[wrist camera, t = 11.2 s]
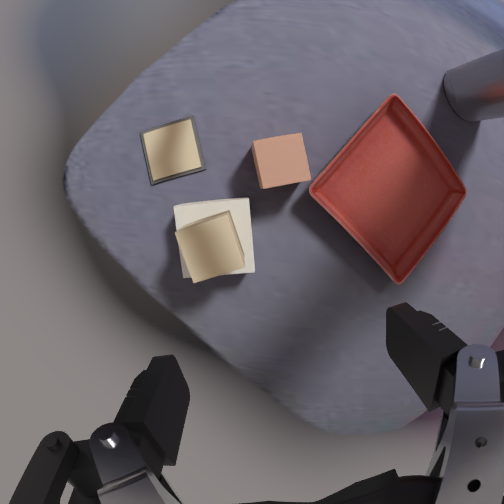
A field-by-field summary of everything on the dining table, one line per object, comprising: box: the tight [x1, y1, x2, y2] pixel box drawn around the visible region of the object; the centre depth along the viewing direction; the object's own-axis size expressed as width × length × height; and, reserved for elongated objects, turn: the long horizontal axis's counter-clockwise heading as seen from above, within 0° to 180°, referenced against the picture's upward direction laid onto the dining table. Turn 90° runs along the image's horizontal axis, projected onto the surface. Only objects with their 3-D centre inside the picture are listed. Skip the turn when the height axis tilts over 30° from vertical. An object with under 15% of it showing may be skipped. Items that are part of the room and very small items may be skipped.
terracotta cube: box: [251, 133, 311, 189], centre depth 30 cm, size 5×5×5 cm
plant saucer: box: [309, 94, 467, 285], centre depth 32 cm, size 18×18×3 cm
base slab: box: [174, 197, 255, 278], centre depth 32 cm, size 8×8×4 cm
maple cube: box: [175, 210, 245, 283], centre depth 28 cm, size 5×5×5 cm
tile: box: [140, 116, 206, 185], centre depth 31 cm, size 7×7×1 cm
